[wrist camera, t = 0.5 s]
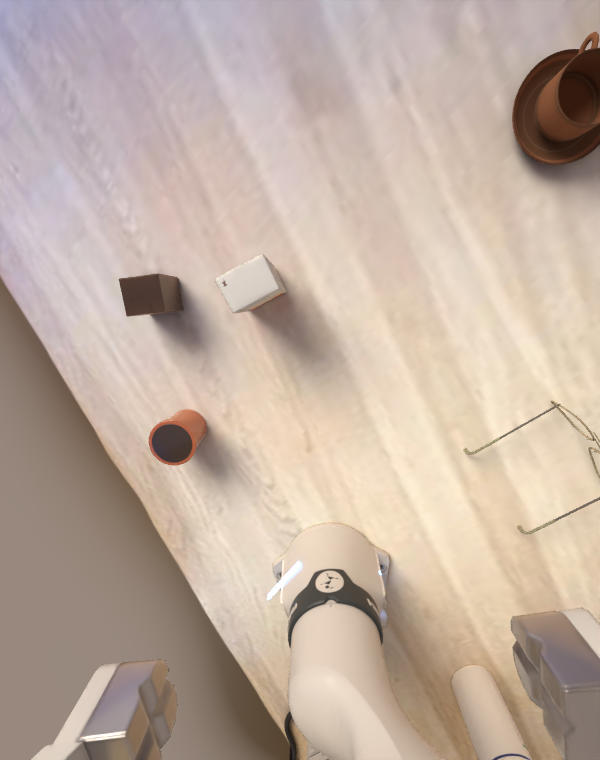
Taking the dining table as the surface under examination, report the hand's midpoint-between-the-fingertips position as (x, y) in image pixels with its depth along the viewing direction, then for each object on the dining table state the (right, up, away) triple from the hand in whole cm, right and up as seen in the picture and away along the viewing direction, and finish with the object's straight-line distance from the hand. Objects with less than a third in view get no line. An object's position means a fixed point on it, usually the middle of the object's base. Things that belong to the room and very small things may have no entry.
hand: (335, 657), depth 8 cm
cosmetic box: (-6, +19, +42) cm, 47 cm away
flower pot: (-18, -1, +47) cm, 50 cm away
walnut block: (-20, +18, +43) cm, 51 cm away
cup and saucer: (+31, +39, +37) cm, 62 cm away
